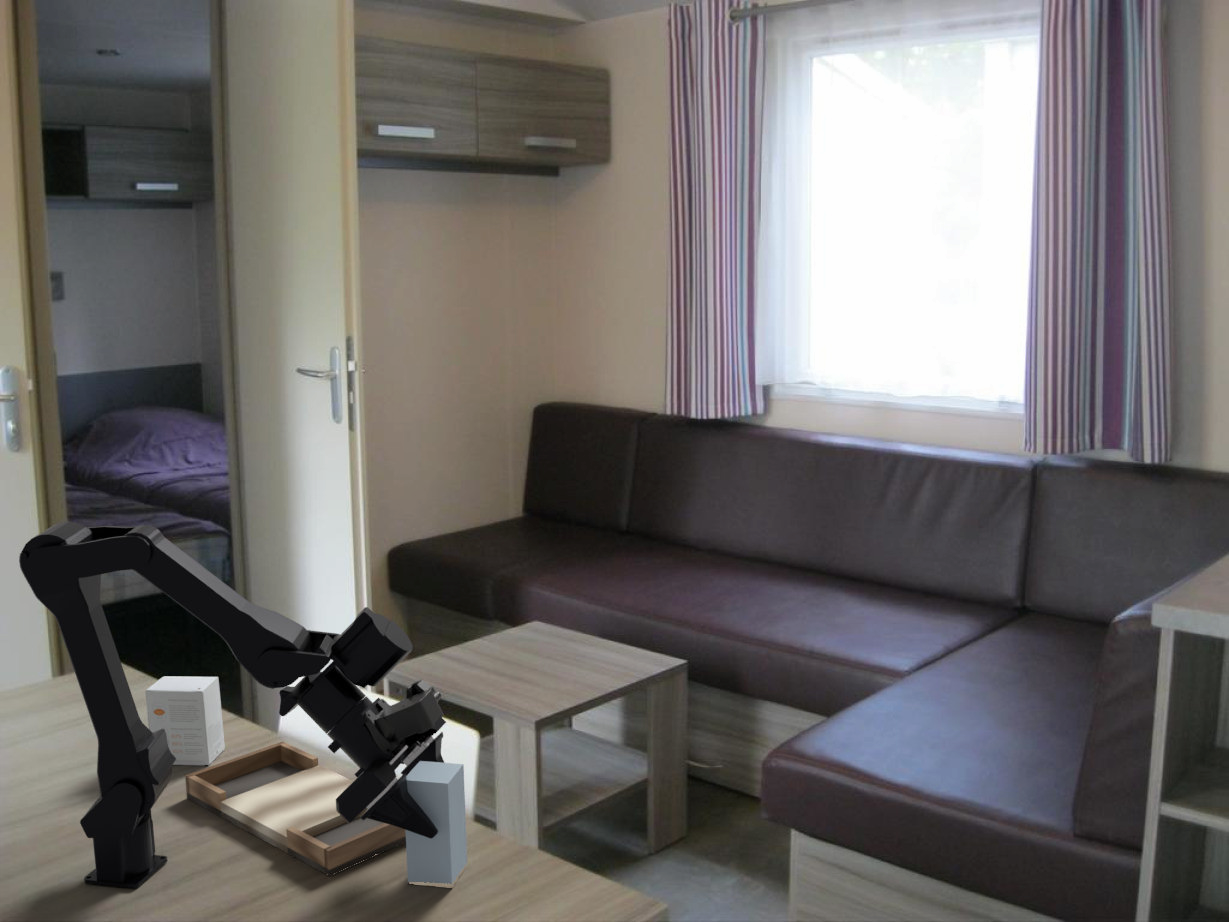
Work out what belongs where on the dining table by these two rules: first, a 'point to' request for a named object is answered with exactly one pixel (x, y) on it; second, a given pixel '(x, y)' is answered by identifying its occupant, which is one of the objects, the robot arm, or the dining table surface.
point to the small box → (188, 717)
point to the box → (291, 807)
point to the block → (438, 823)
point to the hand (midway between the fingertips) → (447, 819)
